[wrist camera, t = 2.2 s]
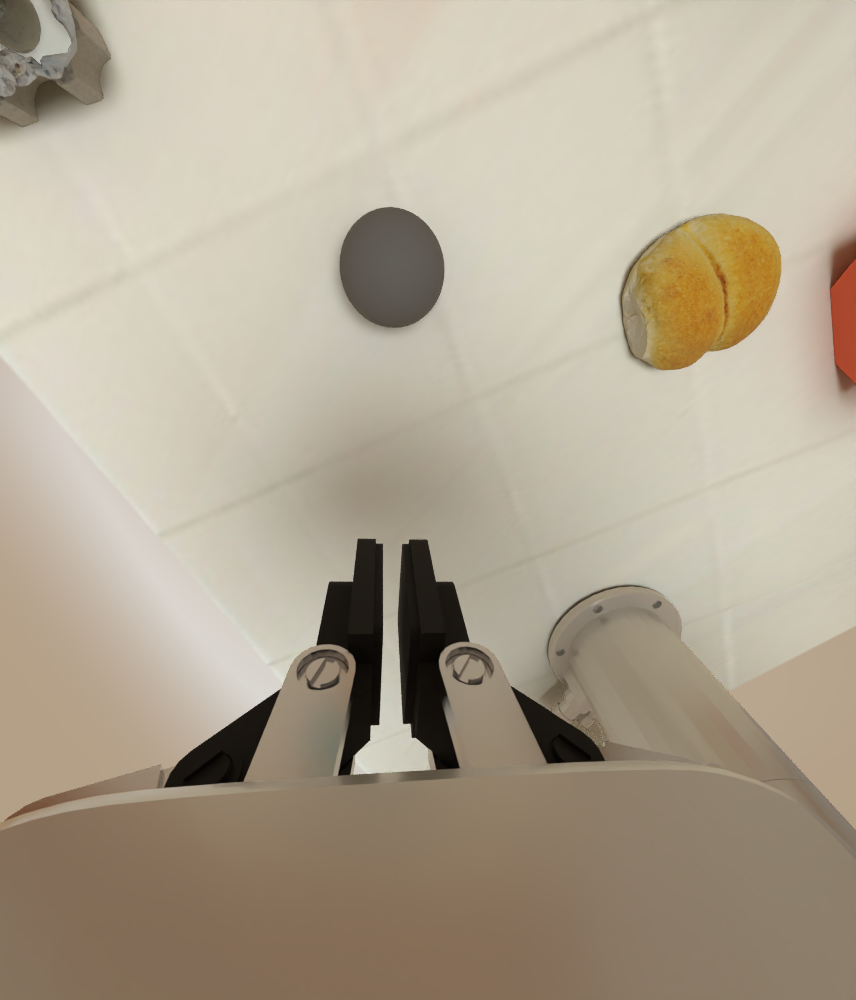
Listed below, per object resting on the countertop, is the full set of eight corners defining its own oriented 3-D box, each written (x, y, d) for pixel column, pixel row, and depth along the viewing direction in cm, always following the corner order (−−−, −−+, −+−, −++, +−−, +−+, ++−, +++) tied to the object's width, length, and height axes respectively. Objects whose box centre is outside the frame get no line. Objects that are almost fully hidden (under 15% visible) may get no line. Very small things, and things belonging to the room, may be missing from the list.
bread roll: (754, 328, 28) (810, 330, 24) (630, 382, 28) (666, 392, 25) (748, 190, 24) (813, 169, 20) (607, 256, 25) (646, 246, 21)
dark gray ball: (410, 343, 25) (417, 350, 20) (329, 295, 24) (315, 289, 19) (454, 256, 24) (473, 240, 19) (370, 198, 22) (366, 163, 17)
